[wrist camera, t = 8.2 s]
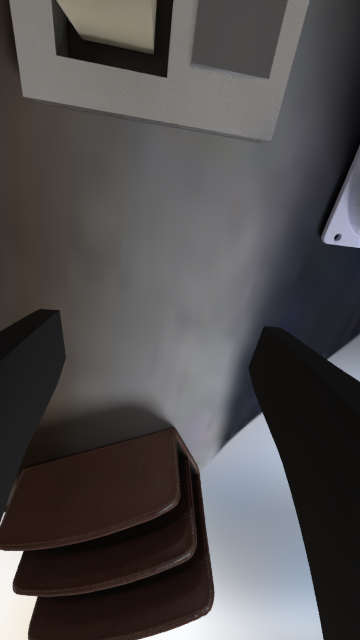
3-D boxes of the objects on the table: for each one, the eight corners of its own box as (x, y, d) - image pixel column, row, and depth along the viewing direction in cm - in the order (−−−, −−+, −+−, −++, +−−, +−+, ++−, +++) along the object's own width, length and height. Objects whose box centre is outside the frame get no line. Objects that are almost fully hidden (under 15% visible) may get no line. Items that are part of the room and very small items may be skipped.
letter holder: (199, 466, 35) (221, 628, 23) (67, 499, 37) (24, 661, 25) (175, 424, 29) (187, 608, 17) (22, 465, 32) (-58, 652, 20)
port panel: (316, -89, 11) (350, -141, 9) (258, 142, 15) (273, 140, 13) (5, -187, 9) (-36, -278, 7) (40, 103, 13) (20, 95, 11)
